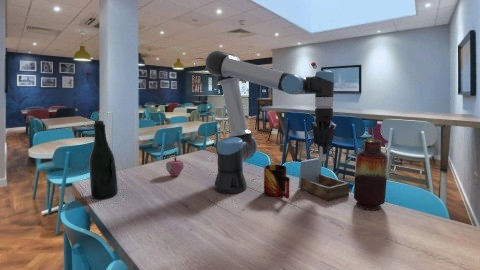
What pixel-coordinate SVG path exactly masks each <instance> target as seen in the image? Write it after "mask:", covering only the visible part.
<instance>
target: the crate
mask: <svg viewBox="0 0 480 270" xmlns="http://www.w3.org/2000/svg"><path fill="white" fill-rule="evenodd" d="M300 191H302V192H304V193H306V192H307V193H306V194H309V195H312V196H314V197H316V198H318V199H321V200H323V201H326V202H331V201H335V200H337V199H341V197H342V198H344V197H347V196H349V195H350V183H349V182H347V181H343V180H341V179H337V178H334V177H331V176H328V175H324V174H322V173H321V174H319V184H317V183H315V182H312V181H309V180H306V179H303V178H301V189H300Z"/></svg>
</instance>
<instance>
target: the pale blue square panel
mask: <svg viewBox="0 0 480 270" xmlns="http://www.w3.org/2000/svg"><path fill="white" fill-rule="evenodd" d="M322 165H323V161H319V157H318V158H311V159H306V160H300V165H299V166H300V169H299V177H298V179H299V180H298V188H297V189H299V190H301V178H303V179H306V180H309V181H312V182H315V183H317V184H319V174H322V168H323V167H322Z"/></svg>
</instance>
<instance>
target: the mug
mask: <svg viewBox="0 0 480 270" xmlns="http://www.w3.org/2000/svg"><path fill="white" fill-rule="evenodd" d="M263 167H264V168H263V195H264V196H266V197H269V198H273V199H274V198H275V199H278V198H285V199H287V200H289V199H290V179H291V178H290V177H288V176H287V167H286V166H285V165H282V164H268V165H265V166H263Z"/></svg>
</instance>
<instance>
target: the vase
mask: <svg viewBox="0 0 480 270" xmlns="http://www.w3.org/2000/svg"><path fill="white" fill-rule="evenodd" d="M354 165H355V167H354V169H355V170H354V184H353V199H354V201H355V202H356V203H355V205H356V207H357V208H360V209H362V210H366V211H372V212H376V211H381V210H382V205H383V204H385V201H386V192H387V180H388V179H387V178H388V169H389V167H388V165H389V156H388V155H387V154H386V153H384V152H383V151H382V140H380V139H373V138H372V139H371V138H370V139H369V138H367V139H364V141H363V150H361V151H359V152H357V153H356V156H355V164H354Z"/></svg>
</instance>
